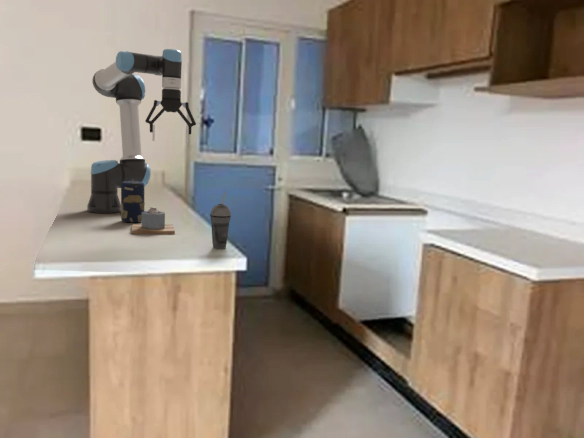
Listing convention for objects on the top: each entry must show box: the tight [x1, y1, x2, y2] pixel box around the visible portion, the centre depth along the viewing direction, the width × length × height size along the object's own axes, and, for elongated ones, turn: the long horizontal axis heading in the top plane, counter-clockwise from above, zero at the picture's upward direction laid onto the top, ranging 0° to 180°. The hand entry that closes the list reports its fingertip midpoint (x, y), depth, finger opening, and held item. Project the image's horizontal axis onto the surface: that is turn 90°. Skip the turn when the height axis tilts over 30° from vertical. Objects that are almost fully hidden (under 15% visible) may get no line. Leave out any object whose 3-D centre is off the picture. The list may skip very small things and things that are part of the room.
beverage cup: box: [209, 191, 232, 250], centre depth 190 cm, size 7×7×20 cm
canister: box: [120, 179, 146, 223], centre depth 231 cm, size 10×10×18 cm
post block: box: [131, 206, 176, 235], centre depth 215 cm, size 14×16×9 cm
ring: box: [141, 210, 166, 230], centre depth 215 cm, size 9×9×6 cm
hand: (170, 141), depth 226 cm, fingers open, 13 cm apart
